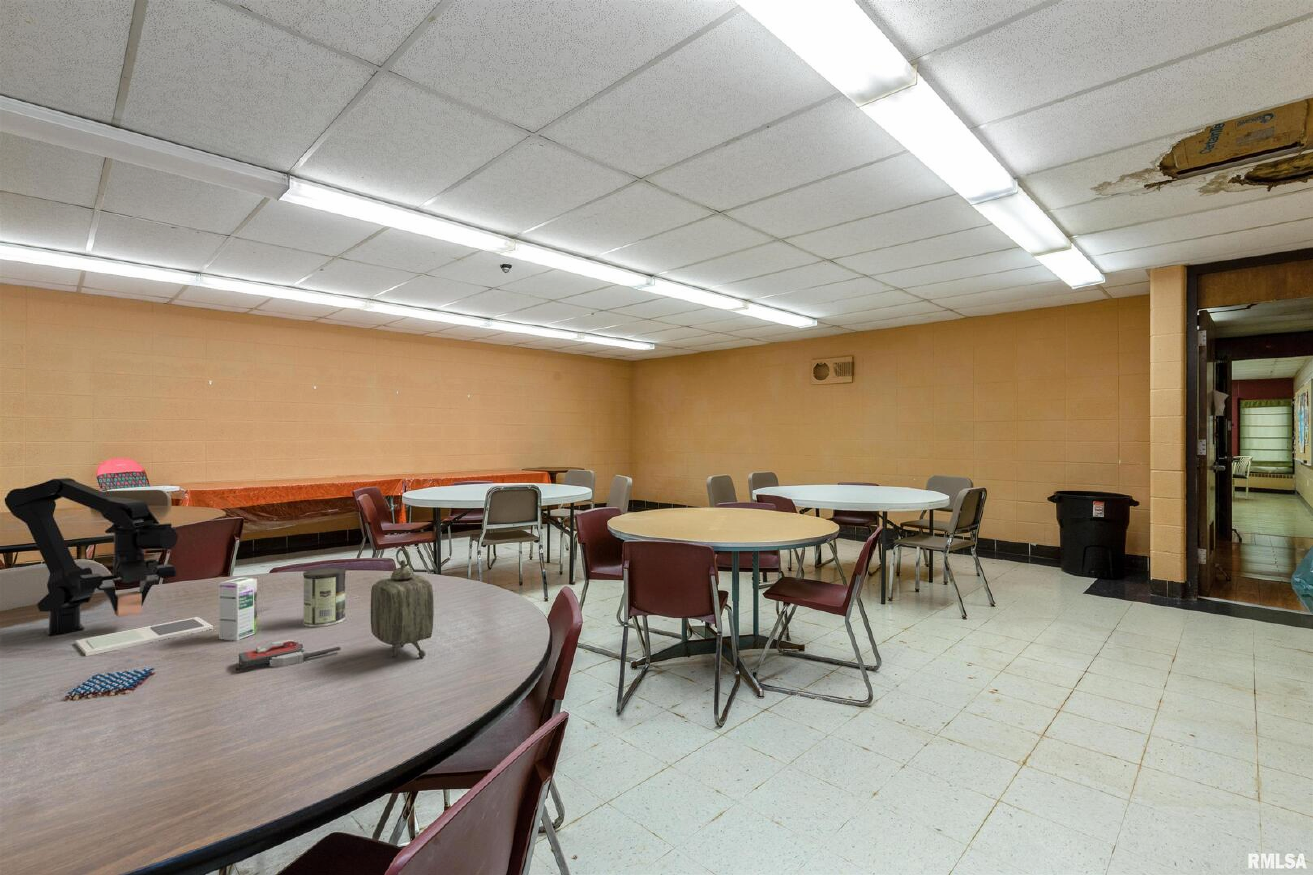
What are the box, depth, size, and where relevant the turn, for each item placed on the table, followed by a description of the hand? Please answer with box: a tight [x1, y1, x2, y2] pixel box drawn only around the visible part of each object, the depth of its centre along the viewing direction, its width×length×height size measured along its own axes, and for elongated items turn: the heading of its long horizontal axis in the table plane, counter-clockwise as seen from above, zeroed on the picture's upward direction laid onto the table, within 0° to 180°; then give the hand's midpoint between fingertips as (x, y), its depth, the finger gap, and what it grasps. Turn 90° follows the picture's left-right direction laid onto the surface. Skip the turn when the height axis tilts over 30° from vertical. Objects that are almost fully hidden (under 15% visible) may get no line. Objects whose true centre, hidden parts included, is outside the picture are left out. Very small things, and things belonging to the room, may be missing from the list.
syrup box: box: [218, 576, 258, 642], centre depth 145 cm, size 6×6×14 cm
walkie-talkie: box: [235, 638, 342, 673], centre depth 131 cm, size 9×4×20 cm
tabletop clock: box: [370, 547, 435, 658], centre depth 134 cm, size 14×9×25 cm, turn 47°
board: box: [75, 616, 214, 657], centre depth 145 cm, size 13×24×1 cm, turn 143°
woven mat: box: [64, 667, 156, 702], centre depth 116 cm, size 10×11×2 cm
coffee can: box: [302, 566, 347, 628], centre depth 158 cm, size 10×10×14 cm
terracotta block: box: [113, 590, 143, 618], centre depth 149 cm, size 4×4×5 cm
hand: (128, 609), depth 149 cm, fingers closed on terracotta block, 4 cm apart
